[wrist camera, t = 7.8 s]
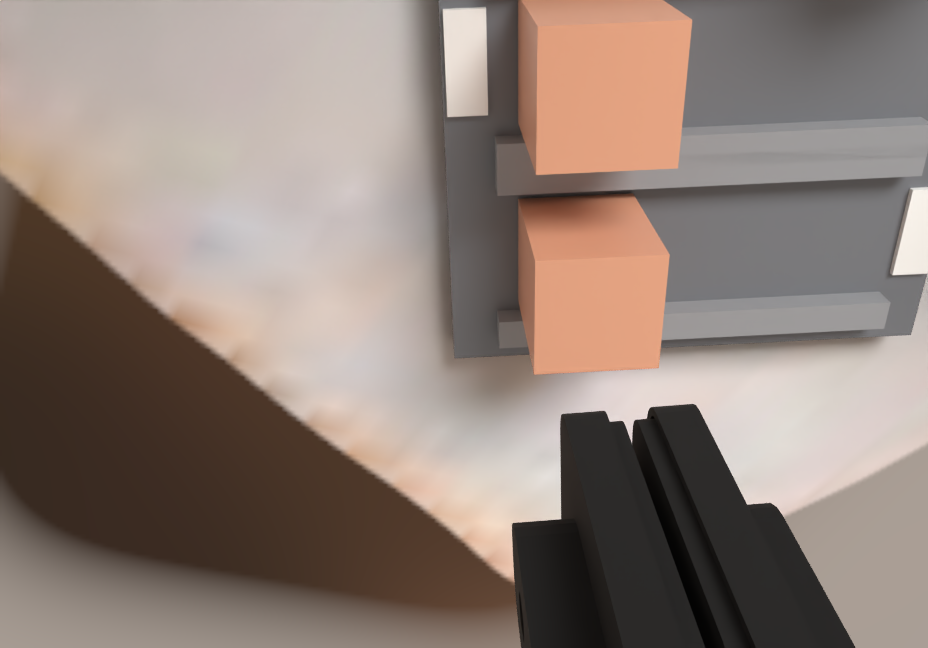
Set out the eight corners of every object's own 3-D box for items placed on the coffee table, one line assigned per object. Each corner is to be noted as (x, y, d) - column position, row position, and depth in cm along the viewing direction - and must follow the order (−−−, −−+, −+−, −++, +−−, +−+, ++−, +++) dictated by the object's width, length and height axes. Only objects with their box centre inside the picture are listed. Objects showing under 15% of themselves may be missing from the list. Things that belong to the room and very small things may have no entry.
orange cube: (518, 198, 27) (535, 261, 23) (632, 193, 27) (669, 254, 23) (518, 300, 28) (534, 374, 24) (625, 295, 28) (658, 367, 25)
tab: (517, -6, 24) (537, 26, 20) (647, -11, 24) (692, 19, 20) (518, 122, 25) (536, 175, 21) (638, 117, 25) (677, 168, 22)
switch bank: (421, -370, 21) (421, -389, 19) (1072, -390, 21) (1130, -411, 19) (453, 340, 31) (455, 371, 29) (893, 317, 31) (922, 346, 29)
